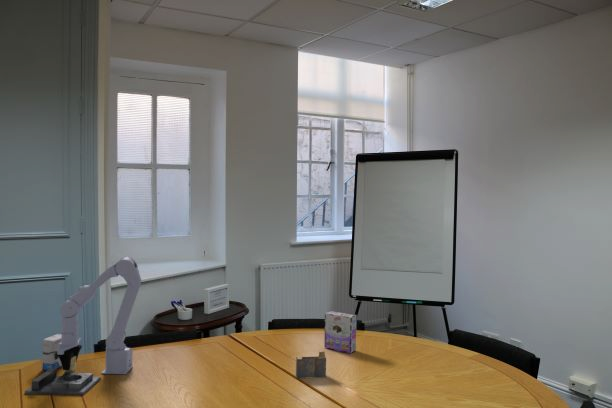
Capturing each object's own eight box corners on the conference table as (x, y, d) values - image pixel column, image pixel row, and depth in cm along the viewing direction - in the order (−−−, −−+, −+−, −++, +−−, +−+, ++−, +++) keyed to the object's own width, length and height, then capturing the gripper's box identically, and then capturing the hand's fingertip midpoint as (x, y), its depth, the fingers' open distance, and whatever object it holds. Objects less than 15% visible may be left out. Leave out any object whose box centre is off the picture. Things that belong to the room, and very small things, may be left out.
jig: (100, 379, 178) (100, 368, 178) (83, 395, 164) (83, 383, 164) (46, 378, 178) (46, 367, 178) (24, 394, 164) (24, 382, 164)
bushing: (77, 370, 185) (78, 354, 185) (72, 374, 181) (72, 358, 180) (66, 370, 185) (66, 354, 185) (60, 374, 181) (60, 358, 180)
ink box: (52, 371, 185) (53, 340, 185) (41, 369, 186) (42, 339, 186) (68, 363, 193) (68, 334, 193) (57, 362, 194) (57, 333, 194)
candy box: (356, 350, 217) (357, 314, 217) (350, 354, 212) (351, 317, 212) (330, 345, 225) (330, 310, 224) (323, 348, 220) (324, 312, 219)
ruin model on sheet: (324, 375, 188) (324, 350, 188) (325, 378, 185) (326, 353, 185) (295, 376, 186) (296, 351, 186) (296, 379, 183) (297, 354, 183)
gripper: (68, 326, 190) (68, 360, 190) (49, 337, 175) (48, 374, 175) (86, 326, 190) (86, 360, 190) (68, 337, 175) (68, 374, 176)
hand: (69, 367), depth 183 cm, fingers closed on bushing, 4 cm apart
